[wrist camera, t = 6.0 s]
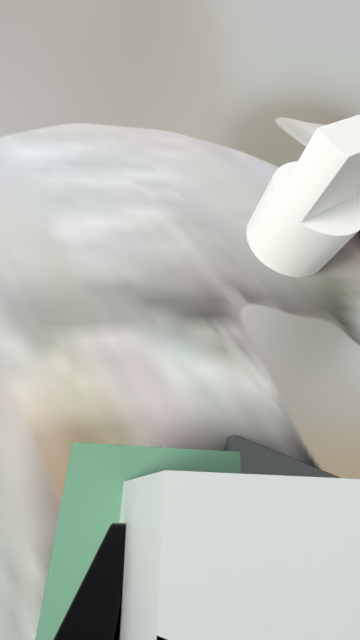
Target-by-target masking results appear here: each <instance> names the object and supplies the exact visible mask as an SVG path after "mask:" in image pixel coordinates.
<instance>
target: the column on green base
mask: <svg viewBox="0 0 360 640" xmlns="http://www.w3.org/2000/svg"><path fill="white" fill-rule="evenodd" d="M112 523H126V537H125V556H124V575H123V592H122V602H121V608H120V615H119V622H118V629H117V636H116V640H360V479H347V478H325V477H303V476H281V475H259V474H241V465H240V452H234V451H216V450H199V449H181V448H163V447H145V446H128V445H110V444H92V443H74V442H72V447H71V452H70V457H69V463H68V468H67V473H66V479H65V484H64V490H63V495H62V500H61V506H60V511H59V516H58V522H57V527H56V533H55V538H54V543H53V549H52V554H51V560H50V565H49V570H48V576H47V581H46V586H45V592H44V597H43V603H42V608H41V613H40V619H39V624H38V629H37V635H36V640H53V639H54V637H55V635H56V633H57V631H58V629H59V627H60V625H61V623H62V621H63V619H64V617H65V615H66V613H67V611H68V609H69V607H70V605H71V603H72V601H73V599H74V597H75V595H76V593H77V591H78V589H79V587H80V585H81V583H82V581H83V579H84V577H85V575H86V573H87V571H88V569H89V567H90V565H91V563H92V561H93V559H94V557H95V555H96V553H97V551H98V549H99V547H100V545H101V543H102V541H103V539H104V537H105V535H106V532H107V530H108V528H109V527H110V525H111V524H112Z"/></svg>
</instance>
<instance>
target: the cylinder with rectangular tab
mask: <svg viewBox="0 0 360 640" xmlns="http://www.w3.org/2000/svg"><path fill="white" fill-rule="evenodd" d="M359 230H360V115H357V116H354V117H350V118H348V119H344V120H341V121H338V122H335V123H332V124H329V125H326V126H322V127H319V128H317V129H316V131H315V133H314V135H313V136H312V138H311V140H310V142H309V143H308V145H307V147H306V148H305V150H304V152H303V154H302V155H301V157H300V159H299V161H298V162H297V161H296V162H291V163H286V164H285V165H283V166H281V167H279V168H278V170H277V171H276V172H275V173H274V175H273V177H272V179H271V181H270V183H269V184H268V186H267V188H266V190H265V192H264V194H263V196H262V198H261V200H260V202H259V204H258V205H257V207H256V209H255V211H254V213H253V215H252V217H251V219H250V221H249V223H248V226H247V230H246V232H247V240H248V243H249V245H250V248H251V250H252V251H253V252H254V254H255V255H256V257H257V258H258V259H259V260H260V261H262V262H263V263H264V264H265V265H266V266H268V267H269V268H271V269H273V270H274V271H276V272H279V273H281V274H284V275H287V276H293V277H306V276H310V275H313V274H315V273H317V272H318V271H319V270H320V269H321V268H323V267H324V266H325V265H326V264H327V263H328V261H329V260H330V259H331V258H332V257H333V256H334V255H335V254H336V253H337V252H338V251H339V250H340V249H341V248H342V247H343V246H344V245H345V244H346V243H347V242H348V241H349V240H350V239H351V238H352V237H353V236H354V235H355V234H356V233H357V232H358V231H359Z"/></svg>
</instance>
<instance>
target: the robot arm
mask: <svg viewBox="0 0 360 640" xmlns="http://www.w3.org/2000/svg"><path fill="white" fill-rule="evenodd" d="M125 537H126V523H112V524H111V525H110V527H109V528H108V530H107V532H106V535H105V537H104V539H103V541H102V543H101V545H100V547H99V549H98V551H97V553H96V555H95V557H94V559H93V561H92V563H91V565H90V567H89V569H88V571H87V573H86V575H85V577H84V579H83V581H82V583H81V585H80V587H79V589H78V591H77V593H76V595H75V597H74V599H73V601H72V603H71V605H70V607H69V609H68V611H67V613H66V615H65V617H64V619H63V621H62V623H61V625H60V627H59V629H58V631H57V633H56V635H55V637H54V639H53V640H116V636H117V629H118V622H119V615H120V608H121V602H122V592H123V575H124V556H125Z"/></svg>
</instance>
